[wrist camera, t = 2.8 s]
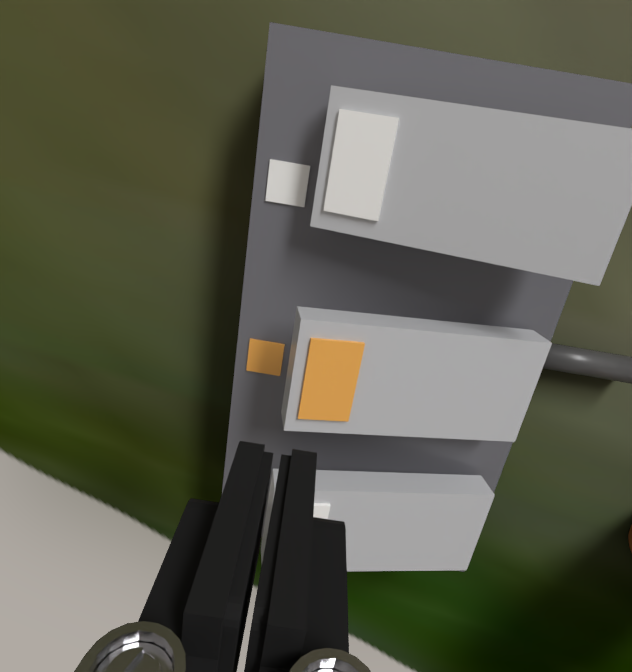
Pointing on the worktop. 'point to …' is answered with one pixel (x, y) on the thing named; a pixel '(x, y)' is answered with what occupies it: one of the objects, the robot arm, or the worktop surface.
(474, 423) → the block
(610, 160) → the block
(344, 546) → the robot arm
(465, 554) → the block
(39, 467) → the worktop surface
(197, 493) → the worktop surface
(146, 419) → the worktop surface
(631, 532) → the disposable coffee cup
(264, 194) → the rocker switch panel
